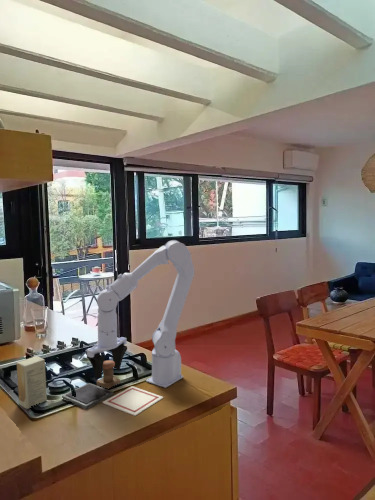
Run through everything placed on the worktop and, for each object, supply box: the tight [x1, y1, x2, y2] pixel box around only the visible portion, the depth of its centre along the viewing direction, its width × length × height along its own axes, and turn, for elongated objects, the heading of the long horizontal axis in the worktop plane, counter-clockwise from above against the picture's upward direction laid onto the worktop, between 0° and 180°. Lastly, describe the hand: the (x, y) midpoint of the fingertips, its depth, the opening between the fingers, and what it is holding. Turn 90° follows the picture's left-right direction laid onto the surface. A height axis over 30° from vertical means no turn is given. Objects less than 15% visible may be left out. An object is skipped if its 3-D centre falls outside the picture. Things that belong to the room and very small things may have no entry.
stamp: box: [96, 360, 121, 390], centre depth 119 cm, size 5×5×7 cm
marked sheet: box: [102, 386, 164, 417], centre depth 110 cm, size 12×12×1 cm
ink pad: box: [61, 382, 114, 410], centre depth 111 cm, size 10×10×1 cm
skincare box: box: [16, 355, 48, 410], centre depth 107 cm, size 6×4×12 cm
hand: (107, 372), depth 119 cm, fingers open, 7 cm apart
